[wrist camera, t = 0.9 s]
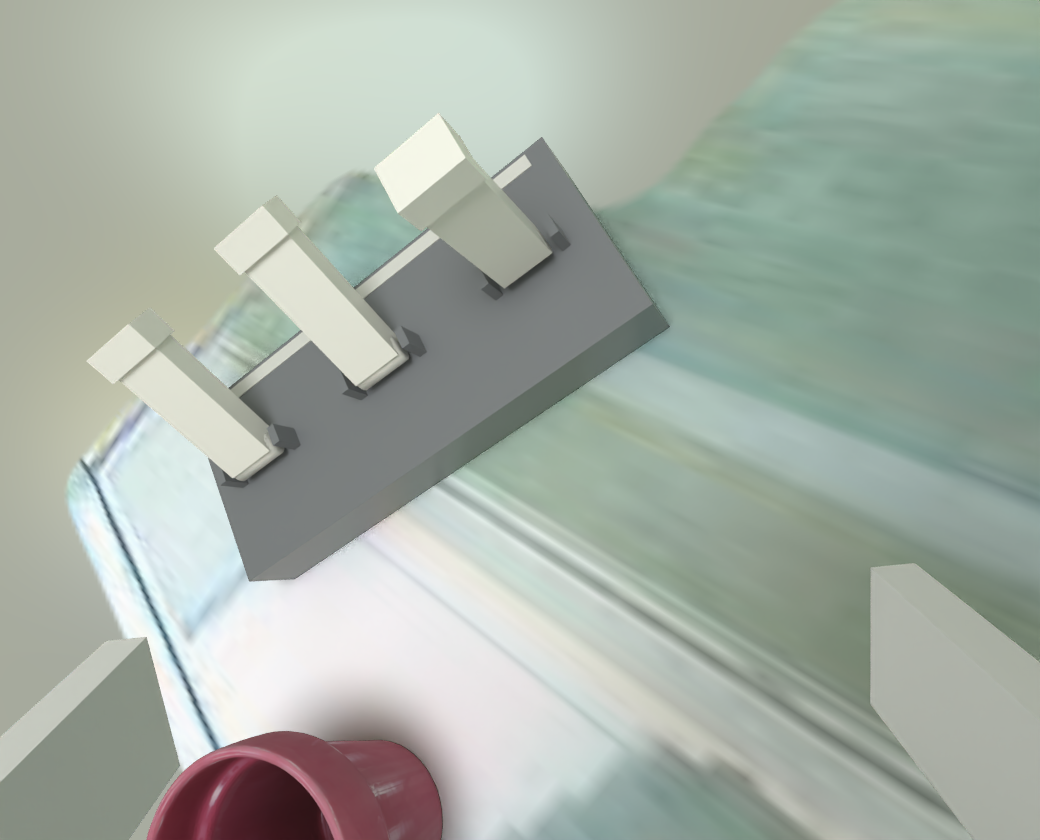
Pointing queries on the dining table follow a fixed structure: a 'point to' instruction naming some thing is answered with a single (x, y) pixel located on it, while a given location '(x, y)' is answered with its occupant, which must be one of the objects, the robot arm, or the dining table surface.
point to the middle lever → (313, 293)
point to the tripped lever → (460, 203)
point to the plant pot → (301, 793)
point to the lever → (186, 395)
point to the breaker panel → (433, 376)
